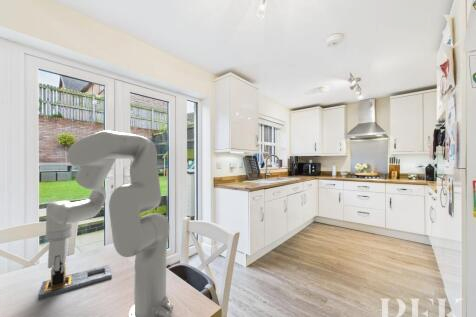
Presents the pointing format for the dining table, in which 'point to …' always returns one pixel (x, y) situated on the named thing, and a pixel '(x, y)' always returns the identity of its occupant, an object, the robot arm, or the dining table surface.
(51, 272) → the brass plug
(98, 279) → the socket plate
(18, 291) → the dining table surface
